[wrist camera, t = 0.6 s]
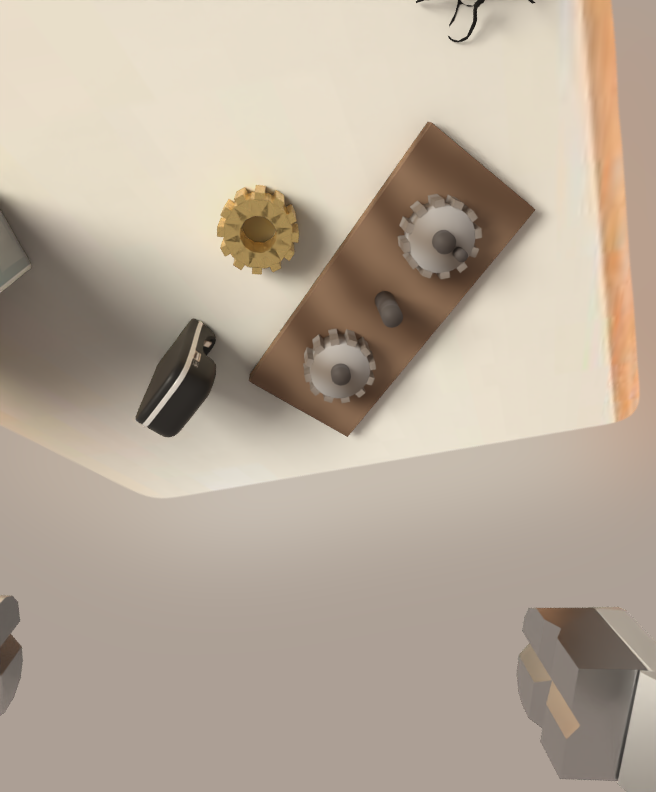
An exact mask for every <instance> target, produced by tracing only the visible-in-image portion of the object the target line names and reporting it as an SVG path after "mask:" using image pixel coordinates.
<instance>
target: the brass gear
mask: <svg viewBox="0 0 656 792" xmlns="http://www.w3.org/2000/svg"><path fill="white" fill-rule="evenodd" d="M234 200H235V202H232V201H231V200H229V199H228V201H227V203H226V204H225V206H224V208H223V210H222V213H221V216H222V217H224V218H221V219H220V221H219V224H218V226H217V237H224V238H223V241H222V244H221V247H220V248H221V250H222V252H223V254H224V256H227V255H229V254H231V255H232V257H233V258H235V259H234V263H233V265H234V266H235V267H237V268H239V269H240V270H242V268H243V267H244V265H246V266H247V267H248V266H249V267H252V274H262V268H268V267H270V268H271V270H272V272H274V271H276V270H278V269H281V260H283V258H286V259H287V260H289V261H290V259H291V258H292V256H293V255H294V243H293V242H298V239H299V230H298V224H297V223H294V222H296V221H297V220H296V212H295V210H294V208H293V206H292V204H291V205H289V206H287V207H286V206H285V204H284V195H283V194H282V193H280V192H279V191H277V190H276V191H275V193H274V194H273V195H272V194H270V193H265V186H262V185H256V188H255V192H253V191H252V192H250V193H248V192H247V190H246V188H245V187H244V188H242V189H241V190H239V191H237V192H236V195H235V198H234ZM253 216H262V217H265V218H267V219H268V220H270V221H271V222H272V223H273V225H274V227H275V229H276V232H275V234H274V235H273V237H272V238H271V239H270V240H268V241H266V242H264V243H262V242H254V241H252V240H251V239H249V238H248V237H246V235H245V233H244V231H243V229H242V225H243V223H244V221H245V220H247V219H249V218H251V217H253Z"/></svg>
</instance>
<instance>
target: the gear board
mask: <svg viewBox="0 0 656 792" xmlns="http://www.w3.org/2000/svg"><path fill="white" fill-rule="evenodd" d="M534 211H535V209H534V208H533V207H532V206H531V205H529V204H528V203H527V202H526V201H525V200H523V199H522V198H521V197H520V196H519V195H517V194H516V193H515V192H514V191H513V190H511V189H510V188H509V187H508V186H507V185H505V184H504V183H503V182H502V181H501V180H500V179H498V178H497V177H496V176H495V175H494V174H492V173H491V172H490V171H489V170H488V169H486V168H485V167H484V166H483V165H482V164H480V163H479V162H478V161H477V160H476V159H474V158H473V157H472V156H471V155H470V154H468V153H467V152H466V151H465V150H464V149H463V148H461V147H460V146H459V145H458V144H457V143H455V142H454V141H453V140H452V139H451V138H449V137H448V136H447V135H446V134H445V133H443V132H442V131H441V130H440V129H439V128H437V127H436V126H435V125H434V124H433V123H431V122H427V124H426V125H425V127H424V128H423V129H422V131H421V132H420V134H419V135H418V136H417V138H416V139H415V141H414V142H413V144H412V145H411V146H410V148H409V149H408V151H407V152H406V153H405V155H404V156H403V158H402V159H401V161H400V162H399V163H398V165H397V166H396V168H395V169H394V171H393V172H392V173H391V175H390V176H389V178H388V179H387V180H386V182H385V183H384V185H383V186H382V188H381V189H380V190H379V192H378V193H377V195H376V196H375V197H374V199H373V200H372V202H371V203H370V205H369V206H368V207H367V209H366V210H365V212H364V213H363V214H362V216H361V217H360V219H359V220H358V222H357V223H356V224H355V226H354V227H353V229H352V230H351V232H350V233H349V234H348V236H347V237H346V239H345V240H344V241H343V243H342V244H341V246H340V247H339V249H338V250H337V251H336V253H335V254H334V256H333V257H332V258H331V260H330V261H329V263H328V264H327V266H326V267H325V268H324V270H323V271H322V273H321V274H320V276H319V277H318V278H317V280H316V281H315V283H314V284H313V285H312V287H311V288H310V290H309V291H308V293H307V294H306V295H305V297H304V298H303V300H302V301H301V302H300V304H299V305H298V307H297V308H296V310H295V311H294V312H293V314H292V315H291V317H290V318H289V319H288V321H287V322H286V324H285V325H284V327H283V328H282V329H281V331H280V332H279V334H278V335H277V337H276V338H275V339H274V341H273V342H272V344H271V345H270V346H269V348H268V349H267V351H266V352H265V354H264V355H263V356H262V358H261V359H260V361H259V362H258V363H257V365H256V366H255V368H254V369H253V371H252V372H251V373H250V377H249V382H251V383H253V384H255V385H257V386H258V387H260V388H262V389H264V390H265V391H267V392H269V393H271V394H273V395H274V396H276V397H278V398H280V399H281V400H283V401H285V402H287V403H289V404H290V405H292V406H294V407H296V408H297V409H299V410H301V411H303V412H304V413H306V414H308V415H310V416H312V417H313V418H315V419H317V420H319V421H320V422H322V423H324V424H326V425H328V426H329V427H331V428H333V429H335V430H336V431H338V432H340V433H342V434H343V435H345V436H347V437H348V436H349V434H350V433H351V432H352V431H353V430H354V428H355V427H356V426H357V425H358V424H359V422H360V421H361V420H362V419H363V417H364V416H365V415H366V414H367V413H368V411H369V410H370V409H371V408H372V407H373V405H374V404H375V403H376V402H377V401H378V399H379V398H380V397H381V396H382V395H383V393H384V392H385V391H386V390H387V388H388V387H389V386H390V385H391V384H392V382H393V381H394V380H395V379H396V378H397V376H398V375H399V374H400V373H401V372H402V370H403V369H404V368H405V367H406V366H407V364H408V363H409V362H410V361H411V359H412V358H413V357H414V356H415V355H416V353H417V352H418V351H419V350H420V349H421V347H422V346H423V345H424V344H425V343H426V341H427V340H428V339H429V338H430V336H431V335H432V334H433V333H434V332H435V330H436V329H437V328H438V327H439V326H440V324H441V323H442V322H443V321H444V320H445V318H446V317H447V316H448V315H449V314H450V312H451V311H452V310H453V309H454V307H455V306H456V305H457V304H458V303H459V301H460V300H461V299H462V298H463V297H464V295H465V294H466V293H467V292H468V291H469V289H470V288H471V287H472V286H473V285H474V283H475V282H476V281H477V280H478V278H479V277H480V276H481V275H482V274H483V272H484V271H485V270H486V269H487V268H488V266H489V265H490V264H491V263H492V262H493V260H494V259H495V258H496V257H497V256H498V254H499V253H500V252H501V251H502V249H503V248H504V247H505V246H506V245H507V243H508V242H509V241H510V240H511V239H512V237H513V236H514V235H515V234H516V233H517V231H518V230H519V229H520V228H521V227H522V225H523V224H524V223H525V222H526V220H527V219H528V218H529V217H530V216H531V214H532V213H533V212H534Z"/></svg>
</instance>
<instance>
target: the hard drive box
mask: <svg viewBox="0 0 656 792" xmlns="http://www.w3.org/2000/svg"><path fill="white" fill-rule="evenodd" d="M31 267H32V266H31V264H30V262H29V260H28V258H27V256H26V254H25V253H24V251H23V249H22V247H21V246H20V244H19V242H18V240H17V238H16V237H15V235H14V233H13V231H12V230H11V228H10V226H9V224H8V222H7V221H6V219H5V217H4V215H3V214H2V212H1V210H0V293H1V292H2V291H3V290H5V289H6V288H7V287H8V286H9V285H11V284H12V283H13V282H14V281H16V280H17V279H18V278H19V277H21V276H22V275H23V274H24V273H25V272H27V271H28V270H29V269H30V268H31Z"/></svg>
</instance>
